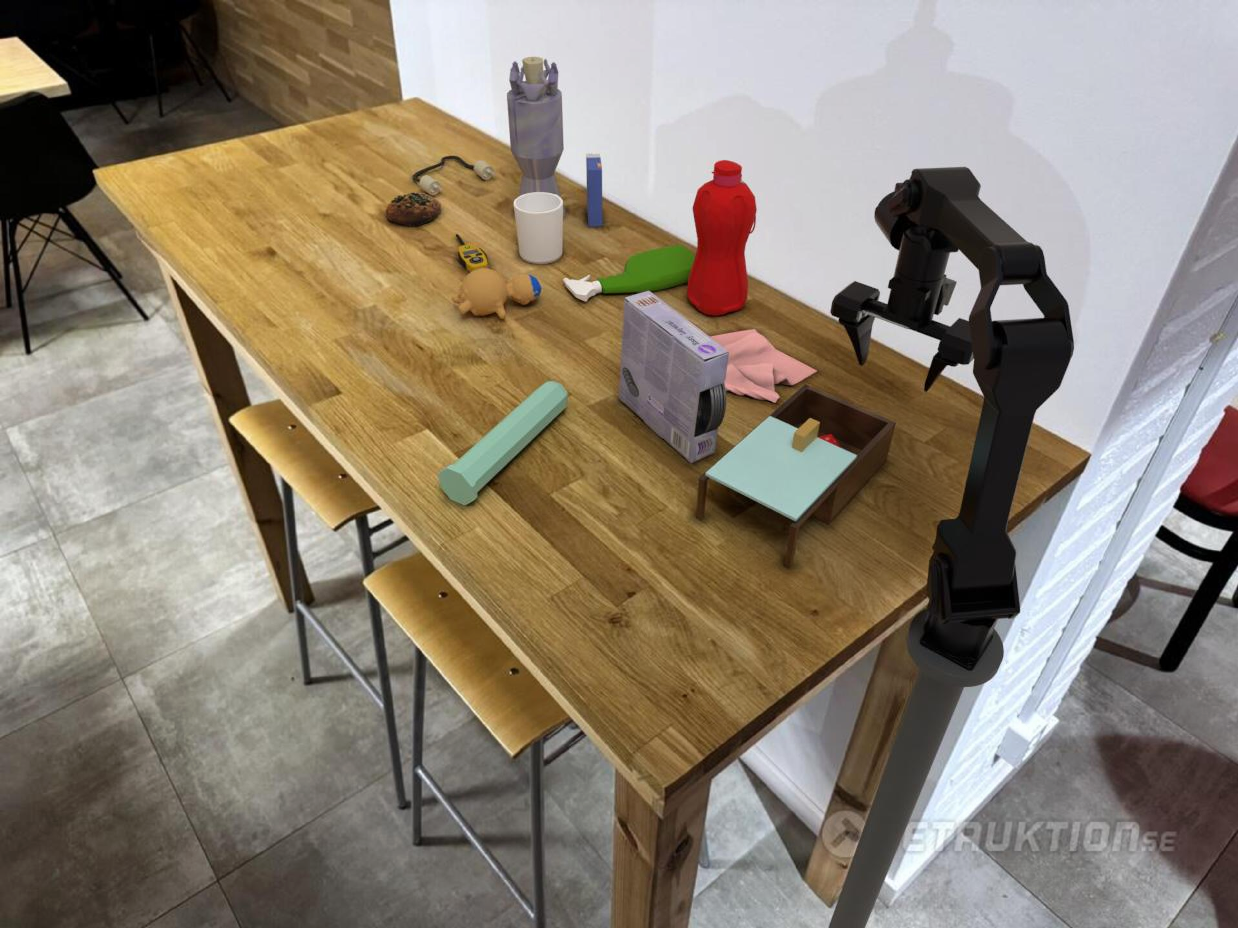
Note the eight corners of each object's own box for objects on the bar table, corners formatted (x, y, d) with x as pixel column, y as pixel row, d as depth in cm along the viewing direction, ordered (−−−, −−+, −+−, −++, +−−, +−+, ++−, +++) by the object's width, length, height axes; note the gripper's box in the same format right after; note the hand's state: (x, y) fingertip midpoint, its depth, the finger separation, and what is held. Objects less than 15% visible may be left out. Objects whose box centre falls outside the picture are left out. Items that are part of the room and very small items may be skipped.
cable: (393, 175, 200) (391, 160, 198) (458, 157, 208) (456, 142, 206) (430, 200, 191) (428, 184, 189) (496, 179, 199) (495, 164, 197)
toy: (462, 326, 152) (548, 320, 158) (463, 282, 148) (551, 277, 154) (447, 303, 159) (529, 297, 165) (447, 260, 155) (532, 256, 161)
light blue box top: (856, 458, 118) (860, 439, 116) (795, 521, 109) (799, 503, 107) (769, 418, 124) (771, 400, 122) (705, 475, 115) (706, 457, 113)
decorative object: (568, 202, 190) (563, 49, 171) (562, 225, 183) (557, 67, 163) (519, 200, 191) (508, 48, 172) (511, 223, 183) (499, 65, 164)
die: (843, 444, 128) (829, 424, 126) (845, 460, 125) (831, 440, 124) (820, 454, 130) (805, 435, 128) (821, 470, 127) (807, 451, 125)
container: (548, 366, 135) (442, 460, 118) (581, 389, 134) (479, 487, 117) (537, 392, 139) (433, 486, 122) (568, 415, 138) (468, 513, 121)
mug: (546, 270, 169) (544, 217, 162) (507, 258, 172) (503, 206, 166) (580, 246, 176) (578, 195, 169) (541, 235, 179) (539, 184, 173)
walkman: (602, 226, 182) (602, 167, 174) (588, 227, 182) (587, 168, 174) (600, 209, 188) (600, 151, 180) (586, 209, 188) (585, 151, 180)
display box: (886, 462, 128) (896, 422, 124) (788, 569, 113) (796, 528, 108) (798, 422, 135) (805, 383, 130) (695, 518, 119) (698, 478, 115)
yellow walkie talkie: (467, 267, 166) (443, 231, 176) (468, 276, 167) (444, 240, 177) (492, 261, 167) (468, 227, 178) (493, 271, 168) (469, 236, 179)
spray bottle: (708, 280, 166) (584, 313, 158) (679, 254, 174) (559, 284, 165) (709, 266, 164) (584, 298, 156) (679, 240, 172) (558, 269, 164)
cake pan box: (723, 457, 129) (734, 350, 117) (695, 470, 127) (703, 363, 115) (644, 389, 141) (646, 287, 129) (616, 400, 139) (617, 297, 127)
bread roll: (404, 231, 180) (399, 206, 177) (376, 219, 187) (371, 195, 184) (452, 217, 185) (448, 192, 183) (424, 206, 193) (419, 182, 190)
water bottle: (761, 307, 159) (779, 167, 143) (707, 322, 155) (718, 180, 139) (732, 283, 165) (746, 146, 149) (679, 297, 162) (687, 158, 145)
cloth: (663, 338, 152) (663, 325, 150) (791, 326, 155) (793, 314, 153) (690, 412, 136) (691, 399, 135) (832, 398, 139) (834, 385, 138)
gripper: (1021, 269, 111) (986, 375, 122) (879, 224, 120) (858, 327, 130) (984, 306, 105) (951, 415, 115) (838, 256, 114) (819, 361, 124)
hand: (894, 376), depth 121 cm, fingers open, 9 cm apart
